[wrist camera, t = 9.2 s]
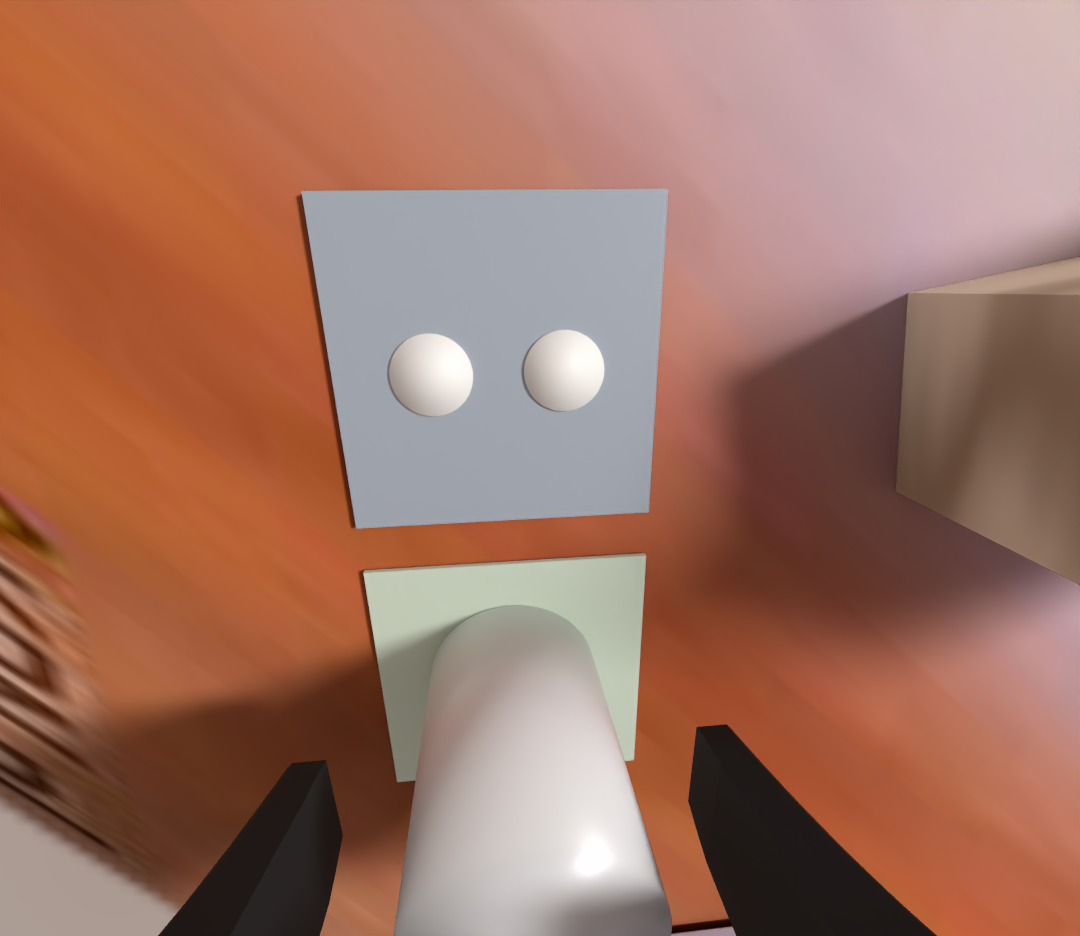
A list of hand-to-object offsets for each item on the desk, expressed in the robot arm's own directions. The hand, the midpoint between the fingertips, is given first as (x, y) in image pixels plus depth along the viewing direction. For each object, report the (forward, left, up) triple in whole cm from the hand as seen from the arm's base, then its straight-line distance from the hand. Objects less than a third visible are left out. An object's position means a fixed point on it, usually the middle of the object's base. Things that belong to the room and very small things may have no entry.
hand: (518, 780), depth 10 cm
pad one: (0, 0, -3) cm, 3 cm away
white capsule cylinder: (0, 0, -3) cm, 3 cm away
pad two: (+8, 0, -3) cm, 8 cm away
